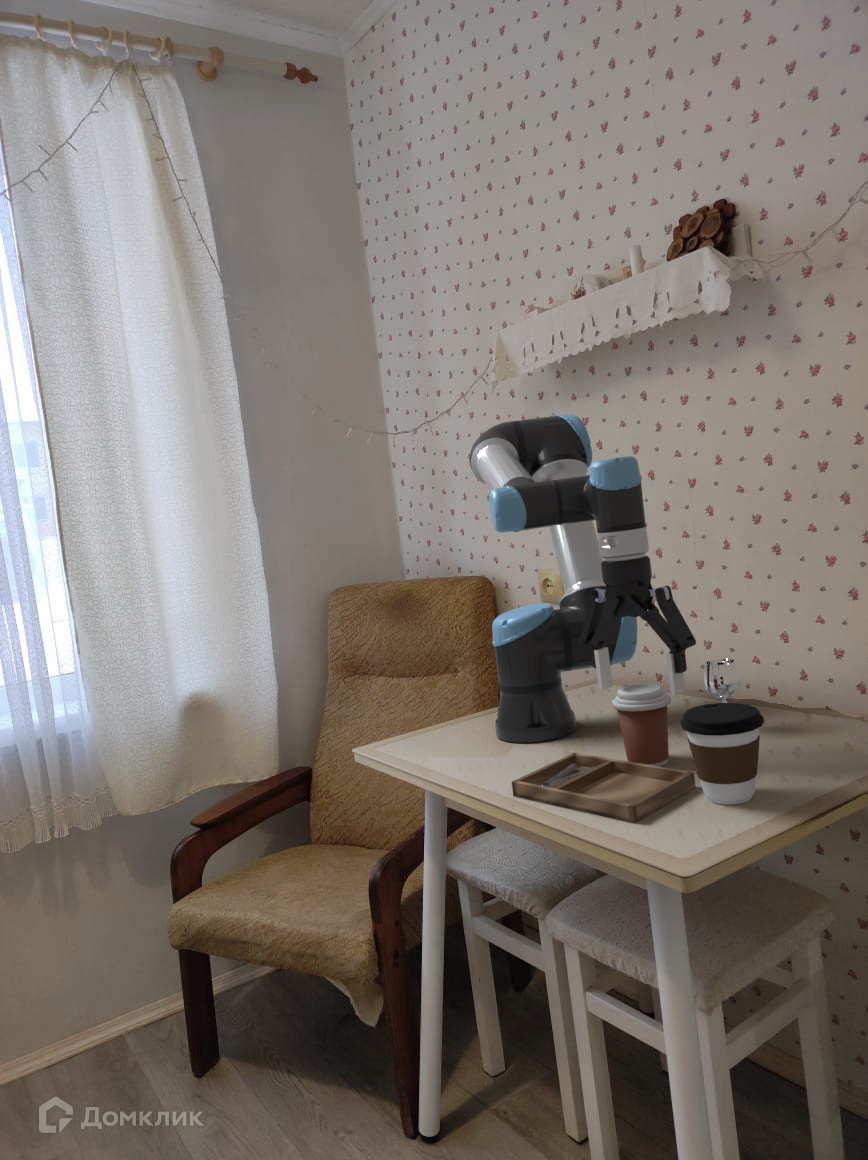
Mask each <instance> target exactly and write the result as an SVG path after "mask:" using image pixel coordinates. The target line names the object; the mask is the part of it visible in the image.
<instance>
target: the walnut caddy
mask: <svg viewBox="0 0 868 1160" xmlns="http://www.w3.org/2000/svg"><path fill="white" fill-rule="evenodd" d="M571 764H577V771H575V772H574V773H573V774H575V773H578V772H580V771H583V770H586V769H589V768H592V767H595V768H593V769H591V770H589V771H587V772H585V773H583V774H581V775H579V776H577V777H575V778H573V779H571V780H569V781H567V782H565V783H563V784H561V785H559V786H557V787H555V788H550V787H546V786H541V785H539V784H541V783H545V782H547V781H548V780H550V779H551V778H552V777H554V776H555V775H557V774H558V773H559V772H561V771H562V770H564V769H565V768H566V767H568V766H569V765H571ZM571 775H572V774H571ZM695 788H696V777H695V772H694V771H688V770H684V769H683V770H681V769H675V768H670V767H664V766H660V767H659V766H653V765H647V764H641V763H634V762H628V761H627V760H621V759H614V758H609V757H603V756H597V755H591V754H584V753H578V752H573V753H570V754H568V755H567V756H564V757H562V758H560V759H558V760H556V761H553V762H551V763H549V764H546V765H545V766H543V767H540V768H539V769H537V770H534V771H532V772H530V773H528V774H525V775H523V776H521V777H519V778H517V779H514V780H513V781H511V789H512V796H513V797H517V798H521V799H525V800H529V801H535V802H540V803H543V804H548V805H553V806H557V807H561V808H565V809H570V810H574V811H578V812H584V813H588V814H591V815H592V814H593V815H597V816H602V817H606V818H610V819H614V820H620V821H623V822H629V823H633V824H635V823H637V822H639V821H641V820H642V819H644V818H645V817H647V816H649V815H650V814H652V813H654V812H655V811H657V810H659V809H661V808H663V807H664V806H666V805H667V804H669V803H672V802H673V801H674V800H676V799H678V798H679V797H681V796H683V795H684V794H686V793H688V792H690V791H691V790H693V789H695Z"/></svg>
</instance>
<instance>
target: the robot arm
mask: <svg viewBox="0 0 868 1160" xmlns="http://www.w3.org/2000/svg"><path fill="white" fill-rule="evenodd" d="M591 443H592V442H591V439H590V435H589V431H588V430H587V427H586V424H585V423H584V421H583V420H582V419H581V418H580V417H579V416H577V415H575V414H570V413H569V414H558V413H557V414H553V415H551V416H544V417H535V418H528V419H520V420H514V421H512V420H511V421H505V422H500V423H498V424H496V425H493V426H492V427H490V428H488V429H486V430H485V431H484V432H483V433H481V434H480V435H479V437H478V438H477V439H476V440H475V441H474V443H473V444H472V447H471V449H470V452H469V459H468V460H469V467H470V469H471V471H472V473H473V474H474V477H476V479H477V480H478V481H479V482H481V483H482V484H485V485H486V486H487V488H488V489H489V491H490V494H489V499H488V500H489V501H488V504H489V512H490V517H491V521H492V526H493V529H494V530H495V531H496V532H498V533H509V532H511V533H512V532H513V533H518V532H521V531H528V530H534V529H541V528H548V527H549V531H550V536H551V541H552V545H553V549H554V554H555V557H556V563H557V565H558V571H559V575H560V579H561V583H562V589H563V591H564V594H563V596H561V598H560V599H559V604H558V605H559V608H557V609H554V607H553V606H552V605H553V604H551V603H549V602H539V603H535V604H534V603H533V604H528V605H524V606H521V607H516V608H513V609H511V610H507V611H506V612H502V613H501V614H499V615H498V616H497V617H496V618H495V619H494V620H493V621H492V625H491V627H492V628H491V630H492V642H491V643H492V646H493V647H494V655H495V661H496V663H495V664H496V669H497V678H498V686H499V694H500V696H499V701H498V706H497V713H496V714H497V717H496V719H495V722H494V727H495V735H496V737H497V738H498V739H499V740H501V741H505V742H510V743H519V744H520V743H523V744H524V743H537V742H546V741H551V740H554V739H555V740H556V739H558V738H563V737H565V736H568V735H570V734H571V733H573V732H575V730H577V720H576V719H577V717H576V714H575V712H574V710H572V708H571V705H570V703H569V700H568V698H567V696H566V693H565V690H564V688H563V683H562V673H563V672H564V673H565V672H569V671H577V670H583V669H590V668H591V669H592V668H593V669H595V670H596V677H597V684H598V685H597V686H598V690H600V691H603V690H606V689H608V688H612V687H613V686H614V685H613V684H614V683H613V679H612V678H613V677H612V668H611V666H613V665H617V664H620V663H621V664H622V663H626V662H629V661H630V660H631V659H633V657H634V656H635V653H636V650H637V644H638V619H637V617H640V619H641V620H643V621H646V623H647V624H648V625H649V626H650V628H651V629H652V630H653V631H654V632H655V634H656V635H657V636H658V637H659V638H660V640H661V641H662V642H663V643H664V645H665V646H666V647H667V648H668V649H669V652H666V653H665V654H666V662H667V671H668V679H669V688H670V696H672V697H673V696H674V697H676V696H678V695H680V694H683V693H685V692H686V685H685V677H684V676H685V675H684V672H686V671H687V669H688V667H687V657H686V656H687V655H686V650H687V649H689V648H691V647H693V646H695V645H696V644H697V640H696V638H695V636H694V635H693V632H692V631H691V629H690V627H689V626H688V624H687V622H686V620H685V619H684V617H683V615H682V613H681V611H680V610H679V607H678V606H677V604H676V602H675V600H674V598H673V593H672V589H671V586H669V585H664V586H660V587H657V588H653V586H652V583H651V581H652V577H653V575H652V574H653V573H652V565H651V558H650V557H649V556H648V555H646V554H647V553H649V552H650V547H649V546H650V545H649V539H648V538H649V537H648V531H647V524H646V514H645V506H644V497H643V488H642V480H643V478H642V475H641V471H640V468H639V467H640V466H639V462H638V459H637V458H636V457H635V456H632V455H630V456H629V455H628V456H627V455H626V456H618V457H613V458H605V459H599V460H594V461H593V450H592V446H591ZM588 468H589V474H588ZM594 521H595V525H596V529H595V525H594ZM596 532H597V533H596ZM603 559H604V560H603ZM653 600H654V601H655V602H657V605H658V607H657V606H656V605H655V603H654V601H653ZM660 611H661V613H662V614H661V613H660ZM662 615H663V616H662Z"/></svg>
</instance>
